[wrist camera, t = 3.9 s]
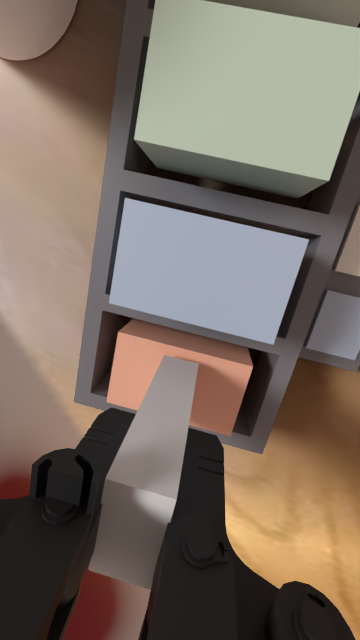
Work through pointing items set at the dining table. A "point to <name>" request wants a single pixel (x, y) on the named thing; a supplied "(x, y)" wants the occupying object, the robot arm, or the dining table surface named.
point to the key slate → (204, 270)
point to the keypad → (133, 183)
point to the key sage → (247, 95)
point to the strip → (339, 307)
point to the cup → (32, 26)
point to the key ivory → (306, 9)
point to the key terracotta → (211, 354)
